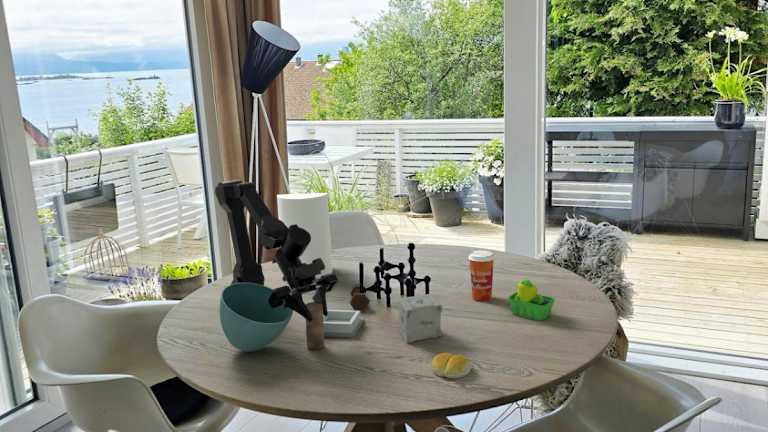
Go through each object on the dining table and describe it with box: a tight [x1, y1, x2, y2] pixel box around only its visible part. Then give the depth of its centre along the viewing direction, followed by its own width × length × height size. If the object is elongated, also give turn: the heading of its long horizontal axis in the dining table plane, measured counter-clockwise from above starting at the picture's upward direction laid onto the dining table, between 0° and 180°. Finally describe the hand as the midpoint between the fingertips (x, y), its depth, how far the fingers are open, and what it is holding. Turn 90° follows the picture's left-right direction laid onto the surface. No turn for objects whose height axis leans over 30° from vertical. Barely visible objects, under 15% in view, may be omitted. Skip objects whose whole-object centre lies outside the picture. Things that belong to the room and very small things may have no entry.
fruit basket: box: [507, 278, 556, 322], centre depth 189 cm, size 11×9×11 cm
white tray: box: [323, 309, 365, 338], centre depth 186 cm, size 13×12×4 cm
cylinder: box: [276, 192, 333, 280], centre depth 236 cm, size 17×17×28 cm
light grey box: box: [397, 293, 443, 344], centre depth 177 cm, size 10×8×10 cm
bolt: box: [349, 284, 370, 312], centre depth 206 cm, size 6×5×15 cm
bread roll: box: [431, 352, 472, 379], centre depth 157 cm, size 8×9×4 cm
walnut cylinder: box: [305, 301, 325, 350], centre depth 173 cm, size 4×4×11 cm
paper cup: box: [468, 250, 496, 303], centre depth 204 cm, size 8×8×14 cm
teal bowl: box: [219, 283, 294, 353], centre depth 172 cm, size 18×18×12 cm
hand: (319, 318), depth 171 cm, fingers closed on walnut cylinder, 4 cm apart
